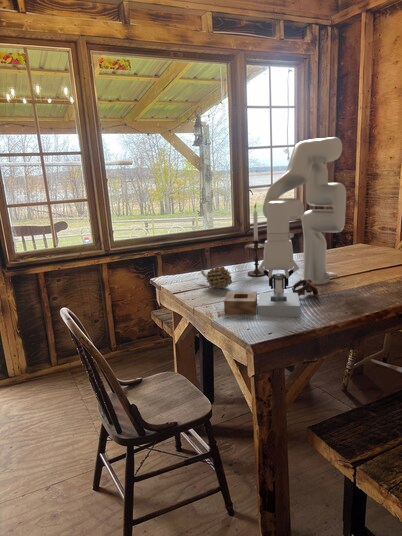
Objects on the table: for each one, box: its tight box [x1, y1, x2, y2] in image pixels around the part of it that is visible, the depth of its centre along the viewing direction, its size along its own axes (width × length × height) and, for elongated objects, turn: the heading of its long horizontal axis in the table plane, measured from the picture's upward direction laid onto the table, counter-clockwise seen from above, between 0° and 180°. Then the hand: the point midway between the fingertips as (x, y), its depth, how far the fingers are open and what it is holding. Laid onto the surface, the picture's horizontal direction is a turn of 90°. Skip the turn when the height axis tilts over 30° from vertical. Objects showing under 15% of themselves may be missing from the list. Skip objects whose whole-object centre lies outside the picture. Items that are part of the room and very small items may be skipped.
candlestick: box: [244, 203, 266, 278], centre depth 176 cm, size 11×11×35 cm
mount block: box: [223, 290, 258, 316], centre depth 135 cm, size 11×11×5 cm
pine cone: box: [200, 266, 233, 289], centre depth 164 cm, size 22×10×10 cm, turn 38°
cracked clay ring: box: [291, 279, 320, 301], centre depth 144 cm, size 12×10×8 cm
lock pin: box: [272, 273, 285, 302], centre depth 131 cm, size 4×4×12 cm
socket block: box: [257, 292, 301, 318], centre depth 132 cm, size 14×14×4 cm
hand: (278, 287), depth 131 cm, fingers closed on lock pin, 4 cm apart
